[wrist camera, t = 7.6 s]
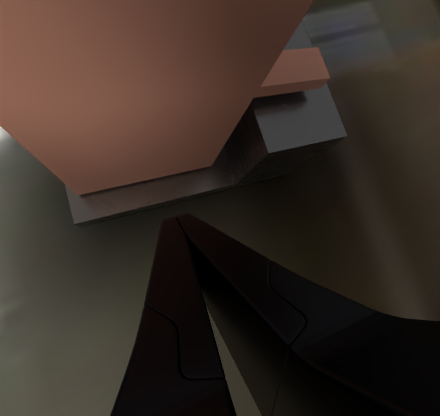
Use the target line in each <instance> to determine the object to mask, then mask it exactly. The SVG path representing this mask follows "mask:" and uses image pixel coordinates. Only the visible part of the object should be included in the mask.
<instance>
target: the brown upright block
mask: <svg viewBox="0 0 440 416" xmlns="http://www.w3.org/2000/svg"><path fill="white" fill-rule="evenodd" d="M313 1H314V0H0V126H1V127H2V128H3V129H5V130H6V131H7V132H8V133H9V134H10V135H11V136H12V137H13V138H15V139H16V140H17V141H18V142H19V143H20V144H21V145H22V146H23V147H25V148H26V149H27V150H28V151H29V152H30V153H31V154H32V155H33V156H35V157H36V158H37V159H38V160H39V161H40V162H41V163H42V164H43V165H44V166H46V167H47V168H48V169H49V170H50V171H51V172H52V173H53V174H54V175H56V176H57V177H58V178H59V179H60V180H61V181H62V182H63V183H64V184H66V185H67V186H68V187H69V188H70V189H71V190H72V191H73V192H74V193H76V194H77V195H81V194H86V193H90V192H95V191H99V190H104V189H109V188H113V187H118V186H122V185H127V184H131V183H136V182H141V181H145V180H150V179H154V178H159V177H163V176H168V175H173V174H177V173H182V172H186V171H191V170H195V169H200V168H205V167H209V166H212V164H213V162H214V161H215V159H216V158H217V156H218V154H219V153H220V151H221V150H222V148H223V146H224V145H225V143H226V141H227V140H228V138H229V137H230V135H231V133H232V132H233V130H234V129H235V127H236V125H237V124H238V122H239V120H240V119H241V117H242V116H243V114H244V112H245V111H246V109H247V108H248V106H249V104H250V103H251V101H252V100H253V98H256V97H263V96H270V95H277V94H284V93H292V92H299V91H306V90H313V89H320V88H321V87H322V86H323V85H324V84H325V83H326V82H327V81H328V80H329V79H330V75H329V73H328V70H327V68H326V65H325V63H324V60H323V58H322V55H321V53H320V50H319V48H318V47H315V48H303V49H291V50H283V49H284V48H285V46H286V45H287V43H288V41H289V40H290V38H291V37H292V35H293V33H294V32H295V30H296V29H297V27H298V25H299V24H300V22H301V20H302V19H303V17H304V16H305V14H306V12H307V11H308V9H309V8H310V6H311V4H312V3H313Z"/></svg>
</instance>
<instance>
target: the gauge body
mask: <svg viewBox="0 0 440 416" xmlns="http://www.w3.org/2000/svg"><path fill="white" fill-rule="evenodd" d="M303 48H313V47H312V44H311V42H310V39H309V36H308V34H307V31H306V29H305V26H304V24H303V21H302V20H301V22H300V24H299V25H298V27H297V29H296V30H295V32H294V33H293V35H292V37H291V38H290V40H289V41H288V43H287V45H286V46H285V48H284V49H283V50H291V49H303ZM345 137H347V133H346V131H345V128H344V126H343V123H342V121H341V118H340V116H339V113H338V110H337V108H336V105H335V103H334V100H333V98H332V95H331V93H330V90H329V88H328V85H327V82H326V83H325V84H324V85H323V86H322V87H321V88H320V89H313V90H306V91H299V92H292V93H284V94H277V95H270V96H263V97H256V98H253V100H252V101H251V103H250V104H249V106H248V108H247V109H246V111H245V112H244V114H243V116H242V117H241V119H240V120H239V122H238V124H237V125H236V127H235V129H234V130H233V132H232V133H231V135H230V137H229V138H228V140H227V141H226V143H225V145H224V146H223V148H222V150H221V151H220V153H219V154H218V156H217V158H216V159H215V161H214V162H213V164H212V166H209V167H205V168H200V169H195V170H191V171H186V172H182V173H177V174H173V175H168V176H163V177H159V178H154V179H150V180H145V181H141V182H136V183H131V184H127V185H122V186H118V187H113V188H109V189H104V190H99V191H95V192H90V193H86V194H81V195H77V194H76V193H74V192H73V191H72V190H71V189H70V188H69V187H68V186H67V185H66V184H65V188H66V192H67V196H68V200H69V205H70V209H71V213H72V217H73V221H74V224H75V225H77V226H79V227H81V226H85V225H89V224H93V223H96V222H100V221H104V220H108V219H112V218H116V217H120V216H124V215H128V214H132V213H136V212H140V211H144V210H148V209H152V208H156V207H160V206H164V205H168V204H172V203H176V202H180V201H184V200H187V199H191V198H195V197H199V196H203V195H207V194H211V193H215V192H219V191H223V190H227V189H231V188H235V187H239V186H243V185H247V184H251V183H255V182H259V181H263V180H267V179H271V178H274V177H278V176H282V175H286V174H289V173H291V172H292V171H294V170H295V169H297V168H299V167H300V166H302V165H303V164H305V163H306V162H308V161H309V160H311V159H313V158H314V157H316V156H317V155H319V154H320V153H322V152H323V151H325V150H327V149H328V148H330V147H331V146H333V145H334V144H336V143H337V142H339V141H341V140H342V139H344V138H345Z"/></svg>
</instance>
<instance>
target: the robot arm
mask: <svg viewBox="0 0 440 416" xmlns="http://www.w3.org/2000/svg"><path fill="white" fill-rule="evenodd" d="M206 307H207V308H208V310H209V312H210V314H211V316H212V318H213V320H214V322H215V324H216V326H217V328H218V330H219V332H220V334H221V336H222V338H223V340H224V342H225V344H226V346H227V348H228V350H229V352H230V354H231V356H232V358H233V360H234V361H235V363H236V365H237V367H238V369H239V371H240V373H241V375H242V377H243V379H244V381H245V383H246V385H247V387H248V389H249V391H250V393H251V395H252V397H253V399H254V401H255V403H256V405H257V407H258V409H259V411H260V413H261V414H262V416H440V321H429V320H416V319H406V318H400V317H395V316H391V315H388V314H384V313H381V312H379V311H376V310H373V309H371V308H369V307H366V306H364V305H362V304H360V303H358V302H355V301H353V300H351V299H349V298H346V297H344V296H342V295H340V294H338V293H335V292H333V291H331V290H329V289H327V288H324V287H322V286H320V285H318V284H316V283H314V282H312V281H309V280H307V279H305V278H303V277H301V276H299V275H297V274H295V273H294V272H292V271H290V270H288V269H286V268H284V267H282V266H281V265H279V264H277V263H275V262H274V261H270V260H269V259H268V258H266V257H265V256H263V255H261V254H259V253H258V252H256V251H254V250H252V249H251V248H249V247H247V246H245V245H244V244H242V243H240V242H238V241H237V240H235V239H233V238H231V237H230V236H228V235H226V234H224V233H223V232H221V231H219V230H217V229H216V228H214V227H212V226H210V225H209V224H207V223H205V222H203V221H202V220H200V219H198V218H196V217H195V216H193V215H191V214H189V213H185V214H181V215H178V216H176V218H175V217H170V218H167V219H163V220H162V222H161V227H160V232H159V236H158V241H157V246H156V251H155V255H154V260H153V265H152V269H151V274H150V279H149V284H148V288H147V293H146V298H145V303H144V308H143V311H142V316H141V321H140V325H139V329H138V333H137V337H136V341H135V344H134V347H133V350H132V354H131V357H130V360H129V363H128V366H127V369H126V372H125V375H124V378H123V381H122V383H121V386H120V389H119V392H118V395H117V398H116V401H115V403H114V406H113V409H112V412H111V415H110V416H237V415H236V412H235V409H234V405H233V402H232V399H231V396H230V392H229V389H228V385H227V382H226V380H225V374H224V370H223V367H222V363H221V359H220V356H219V352H218V348H217V345H216V341H215V337H214V334H213V330H212V326H211V323H210V319H209V315H208V312H207V308H206Z"/></svg>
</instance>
